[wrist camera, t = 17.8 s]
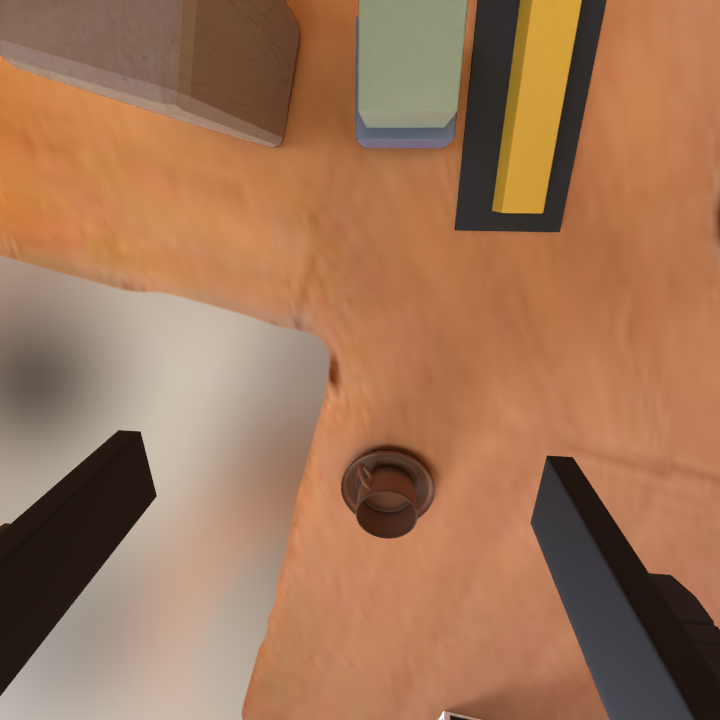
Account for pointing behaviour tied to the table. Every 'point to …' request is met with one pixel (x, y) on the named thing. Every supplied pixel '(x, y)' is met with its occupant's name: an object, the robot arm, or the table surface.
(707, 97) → the table surface
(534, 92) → the bar
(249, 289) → the table surface
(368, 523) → the cup and saucer
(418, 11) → the tower
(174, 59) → the block
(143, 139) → the table surface
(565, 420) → the table surface
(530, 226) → the mat
